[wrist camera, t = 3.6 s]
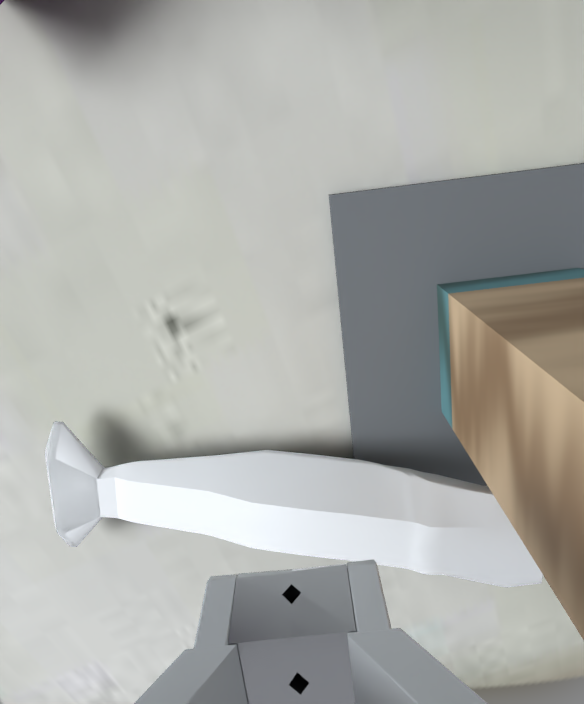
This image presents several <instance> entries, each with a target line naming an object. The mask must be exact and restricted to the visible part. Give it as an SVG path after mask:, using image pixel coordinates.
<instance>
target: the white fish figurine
mask: <svg viewBox="0 0 584 704" xmlns="http://www.w3.org/2000/svg"><path fill="white" fill-rule="evenodd" d="M45 459H46V466H47V474H48V481H49V489H50V496H51V504H52V511H53V518H54V524H55V527H56V531H57V533H58V534H59V535H60V536H61V538H62V539H63V540H64V541H65V542H66V543H67V544H68V545H69V546H72V547H77V546H78V545H79V544H80V543H81V541H82V540H83V539H84V538H85V537H86V536H87V535H88V533H89V532H90V531H91V530H92V529H93V528H94V527H95V525H96V524H97V523H98V522H99V521H100V520H101V519H102V518H103V517H109V518H119V519H123V520H126V521H130V522H134V523H140V524H146V525H152V526H158V527H164V528H170V529H176V530H182V531H188V532H193V533H199V534H205V535H210V536H214V537H217V538H220V539H223V540H227V541H230V542H233V543H237V544H240V545H243V546H247V547H250V548H255V549H262V550H269V551H276V552H283V553H290V554H297V555H304V556H313V557H322V558H331V559H339V560H348V561H364V560H372V559H374V560H375V561H376V563H377V565H384V566H392V567H399V568H405V569H410V570H414V571H416V572H419V573H422V574H432V575H447V576H452V577H456V578H461V579H466V580H471V581H475V582H481V583H486V584H491V585H496V586H501V587H515V586H523V585H531V584H539V583H542V578H543V574H542V572H541V571H540V569H539V567H538V566H537V564H536V563H535V561H534V559H533V558H532V556H531V555H530V553H529V551H528V550H527V548H526V547H525V545H524V543H523V542H522V540H521V538H520V537H519V535H518V534H517V532H516V530H515V529H514V527H513V526H512V524H511V522H510V521H509V519H508V518H507V516H506V514H505V513H504V511H503V510H502V508H501V506H500V505H499V503H498V502H497V500H496V498H495V497H494V495H493V493H492V492H491V490H490V489H489V487H486V486H482V485H478V484H474V483H470V482H466V481H462V480H458V479H453V478H449V477H445V476H441V475H437V474H431V473H425V472H420V471H417V470H413V469H409V468H402V467H395V466H388V465H382V464H379V463H374V462H369V461H363V460H358V459H349V458H341V457H332V456H323V455H315V454H304V453H294V452H284V451H274V450H261V451H252V452H242V453H233V454H224V455H213V456H200V457H187V458H174V459H161V460H148V461H135V462H130V463H125V464H120V465H116V466H112V467H108V468H104V467H103V466H102V465H101V464H100V462H99V461H98V460H97V459H96V458H95V457H94V456H93V455H92V454H91V452H90V451H89V450H88V449H87V448H86V447H85V446H84V445H83V444H82V442H81V441H80V440H79V439H78V438H77V437H76V436H75V435H74V434H73V432H72V431H71V430H70V429H69V428H68V427H67V426H66V425H65V424H64V422H57V421H55V422H54V423H53V426H52V429H51V433H50V436H49V439H48V442H47V446H46V451H45Z"/></svg>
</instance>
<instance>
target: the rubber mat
mask: <svg viewBox="0 0 584 704" xmlns="http://www.w3.org/2000/svg"><path fill="white" fill-rule="evenodd" d="M329 202H330V213H331V223H332V234H333V244H334V255H335V265H336V276H337V286H338V297H339V307H340V318H341V328H342V339H343V349H344V360H345V370H346V381H347V391H348V402H349V412H350V423H351V433H352V444H353V454H354V459H358V460H363V461H369V462H374V463H379V464H382V465H388V466H395V467H402V468H409V469H413V470H417V471H420V472H425V473H431V474H437V475H441V476H445V477H449V478H453V479H458V480H462V481H466V482H470V483H474V484H478V485H482V486H487V484H486V482H485V481H484V479H483V477H482V476H481V474H480V473H479V471H478V469H477V468H476V466H475V465H474V463H473V461H472V460H471V458H470V456H469V455H468V453H467V452H466V450H465V448H464V447H463V445H462V444H461V442H460V440H459V439H458V437H457V436H456V434H455V432H454V431H453V429H452V428H451V426H450V424H449V423H448V421H447V419H446V418H445V416H444V415H443V413H442V409H441V382H440V355H439V328H438V302H437V284H444V283H453V282H461V281H470V280H478V279H487V278H495V277H504V276H512V275H521V274H529V273H537V272H546V271H554V270H563V269H571V268H581V269H584V163H581V164H573V165H565V166H557V167H549V168H541V169H533V170H525V171H517V172H509V173H501V174H492V175H484V176H476V177H468V178H460V179H452V180H444V181H436V182H428V183H420V184H412V185H404V186H396V187H388V188H380V189H372V190H364V191H356V192H348V193H340V194H332V195H329Z"/></svg>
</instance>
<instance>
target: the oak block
mask: <svg viewBox="0 0 584 704" xmlns="http://www.w3.org/2000/svg"><path fill="white" fill-rule="evenodd" d="M437 302H438V328H439V355H440V382H441V409H442V413H443V415H444V416H445V418H446V419H447V421H448V423H449V424H450V426H451V428H452V429H453V431H454V432H455V434H456V436H457V437H458V439H459V440H460V442H461V444H462V445H463V447H464V448H465V450H466V452H467V453H468V455H469V456H470V458H471V460H472V461H473V463H474V465H475V466H476V468H477V469H478V471H479V473H480V474H481V476H482V477H483V479H484V481H485V482H486V484H487V485H488V487H489V489H490V490H491V492H492V493H493V495H494V497H495V498H496V500H497V502H498V503H499V505H500V506H501V508H502V510H503V511H504V513H505V514H506V516H507V518H508V519H509V521H510V522H511V524H512V526H513V527H514V529H515V530H516V532H517V534H518V535H519V537H520V538H521V540H522V542H523V543H524V545H525V547H526V548H527V550H528V551H529V553H530V555H531V556H532V558H533V559H534V561H535V563H536V564H537V566H538V567H539V569H540V571H541V572H542V574H543V575H544V577H545V579H546V580H547V582H548V584H549V585H550V587H551V588H552V590H553V592H554V593H555V595H556V596H557V598H558V600H559V601H560V603H561V604H562V606H563V608H564V609H565V611H566V612H567V614H568V616H569V617H570V619H571V621H572V622H573V624H574V625H575V627H576V629H577V630H578V632H579V633H580V635H581V637H582V638H583V640H584V269H581V268H571V269H563V270H554V271H546V272H537V273H529V274H521V275H512V276H504V277H495V278H487V279H478V280H470V281H461V282H453V283H444V284H437Z"/></svg>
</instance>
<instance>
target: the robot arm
mask: <svg viewBox="0 0 584 704" xmlns="http://www.w3.org/2000/svg"><path fill="white" fill-rule="evenodd" d="M134 704H488V703H487V702H485V701H484V700H483V699H482V698H481V697H480V696H479V695H477V694H476V693H475V692H474V691H473V690H472V689H470V688H469V687H468V686H467V685H466V684H465V683H463V682H462V681H461V680H460V679H459V678H458V677H456V676H455V675H454V674H453V673H452V672H451V671H449V670H448V669H447V668H446V667H445V666H444V665H442V664H441V663H440V662H439V661H438V660H437V659H436V658H434V657H433V656H432V655H431V654H430V653H429V652H427V651H426V650H425V649H424V648H423V647H422V646H420V645H419V644H418V643H417V642H416V641H415V640H413V639H412V638H411V637H410V636H409V635H408V634H406V633H405V632H404V631H403V630H402V629H401V628H395V629H391V624H390V620H389V616H388V611H387V607H386V602H385V598H384V594H383V589H382V585H381V580H380V576H379V572H378V567H377V563H376V561H375V560H374V559H372V560H364V561H356V562H349V563H347V565H346V564H338V565H329V566H320V567H311V568H302V569H293V570H292V569H290V570H278V571H266V572H253V573H241V574H238V575H236V574H233V575H222V576H211V577H210V578H209V580H208V581H207V584H206V589H205V594H204V599H203V604H202V609H201V614H200V619H199V624H198V629H197V634H196V639H195V644H194V649H187V650H184V651H183V652H182V654H181V655H180V656H179V657H178V658H177V659H176V660H175V661H174V662H173V663H172V664H171V665H170V666H169V667H168V668H167V669H166V670H165V671H164V673H163V674H162V675H161V676H160V677H159V678H158V679H157V680H156V681H155V682H154V683H153V684H152V685H151V686H150V687H149V688H148V689H147V691H146V692H145V693H144V694H143V695H142V696H141V697H140V698H139V699H138V700H137V701H136V702H135V703H134Z"/></svg>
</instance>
